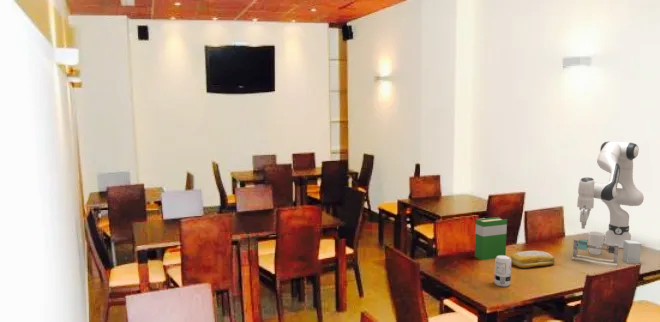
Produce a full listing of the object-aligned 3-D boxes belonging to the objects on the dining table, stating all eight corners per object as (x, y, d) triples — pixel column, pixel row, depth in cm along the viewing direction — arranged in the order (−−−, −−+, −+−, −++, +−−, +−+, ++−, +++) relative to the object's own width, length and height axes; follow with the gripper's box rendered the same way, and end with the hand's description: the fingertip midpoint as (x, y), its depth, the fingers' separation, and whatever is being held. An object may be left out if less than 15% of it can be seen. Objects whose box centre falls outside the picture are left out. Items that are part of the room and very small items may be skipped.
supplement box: (639, 264, 303) (641, 243, 302) (626, 263, 305) (628, 243, 303) (635, 260, 310) (636, 240, 309) (621, 259, 312) (623, 239, 310)
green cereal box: (497, 253, 324) (499, 217, 321) (505, 256, 317) (507, 219, 314) (474, 256, 318) (476, 219, 315) (482, 260, 311) (483, 222, 308)
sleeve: (578, 247, 314) (578, 239, 313) (587, 248, 311) (587, 240, 310) (577, 249, 310) (578, 240, 309) (586, 250, 307) (587, 242, 307)
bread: (506, 264, 304) (507, 251, 303) (541, 259, 314) (541, 246, 313) (522, 271, 292) (522, 258, 291) (557, 265, 301) (558, 252, 300)
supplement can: (491, 281, 275) (492, 255, 273) (506, 281, 276) (507, 254, 274) (497, 287, 267) (499, 259, 265) (512, 286, 268) (514, 259, 266)
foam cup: (585, 253, 323) (586, 233, 322) (587, 250, 331) (588, 230, 329) (602, 256, 318) (603, 236, 316) (603, 252, 326) (605, 232, 324)
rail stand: (573, 256, 318) (574, 237, 317) (617, 262, 306) (618, 243, 304) (571, 260, 310) (573, 241, 308) (616, 267, 297) (618, 247, 296)
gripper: (589, 208, 296) (588, 231, 298) (592, 202, 314) (590, 223, 316) (578, 206, 300) (576, 229, 301) (581, 201, 317) (579, 222, 319)
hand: (583, 226), depth 309 cm, fingers open, 8 cm apart
